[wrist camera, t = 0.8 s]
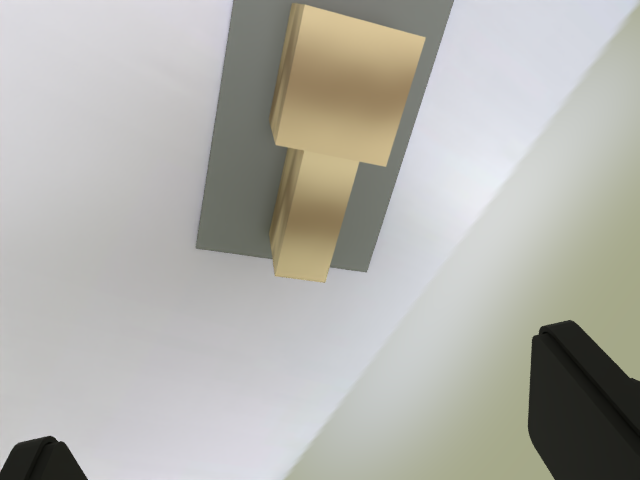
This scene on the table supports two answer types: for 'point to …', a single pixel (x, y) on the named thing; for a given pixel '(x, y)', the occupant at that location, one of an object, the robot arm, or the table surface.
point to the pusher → (331, 126)
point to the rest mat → (268, 159)
